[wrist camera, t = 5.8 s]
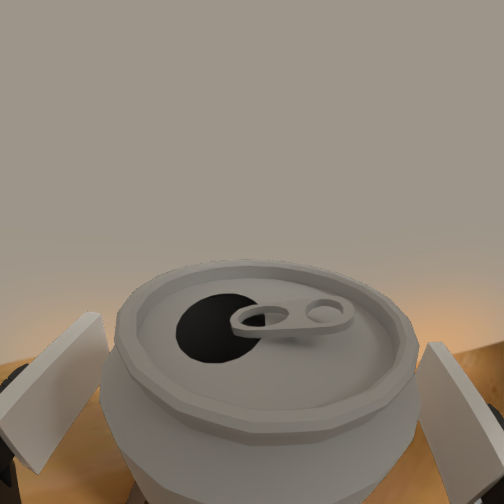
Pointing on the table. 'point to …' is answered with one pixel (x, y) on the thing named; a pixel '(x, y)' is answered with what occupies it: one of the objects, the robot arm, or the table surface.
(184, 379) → the can
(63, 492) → the table surface
